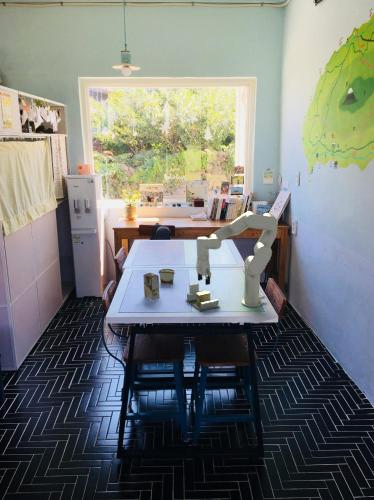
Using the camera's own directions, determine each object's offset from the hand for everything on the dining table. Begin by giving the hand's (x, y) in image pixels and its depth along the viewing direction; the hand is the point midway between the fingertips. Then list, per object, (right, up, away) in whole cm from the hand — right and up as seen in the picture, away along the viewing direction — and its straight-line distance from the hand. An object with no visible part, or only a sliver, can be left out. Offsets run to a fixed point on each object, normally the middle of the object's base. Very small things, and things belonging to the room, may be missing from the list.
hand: (204, 282), depth 263 cm
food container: (-25, -4, +45) cm, 52 cm away
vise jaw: (-5, -11, +12) cm, 17 cm away
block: (0, -14, +4) cm, 14 cm away
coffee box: (-35, -12, +17) cm, 40 cm away
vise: (-1, -15, +5) cm, 15 cm away
